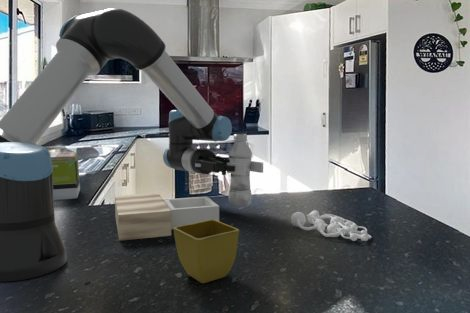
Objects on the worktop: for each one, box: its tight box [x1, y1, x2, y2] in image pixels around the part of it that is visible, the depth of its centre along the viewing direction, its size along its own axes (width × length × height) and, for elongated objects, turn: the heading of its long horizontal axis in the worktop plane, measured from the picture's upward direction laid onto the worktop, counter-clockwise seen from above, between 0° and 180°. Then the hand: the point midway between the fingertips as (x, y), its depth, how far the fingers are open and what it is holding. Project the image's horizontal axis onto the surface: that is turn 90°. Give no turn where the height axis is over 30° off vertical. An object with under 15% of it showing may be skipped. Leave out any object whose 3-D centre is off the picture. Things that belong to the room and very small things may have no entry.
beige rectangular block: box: [114, 192, 172, 242], centre depth 106 cm, size 22×12×6 cm, turn 18°
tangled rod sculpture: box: [290, 209, 373, 242], centre depth 100 cm, size 19×14×4 cm
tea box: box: [50, 151, 81, 201], centre depth 143 cm, size 15×10×15 cm, turn 17°
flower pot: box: [172, 219, 240, 284], centre depth 73 cm, size 9×9×9 cm
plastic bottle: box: [228, 133, 253, 208], centre depth 113 cm, size 6×7×20 cm
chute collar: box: [163, 195, 220, 231], centre depth 110 cm, size 12×12×5 cm
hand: (253, 168), depth 110 cm, fingers closed on plastic bottle, 6 cm apart
